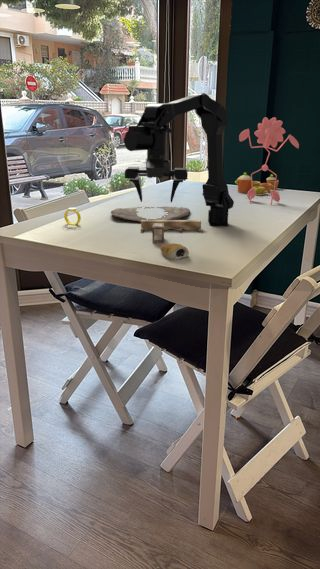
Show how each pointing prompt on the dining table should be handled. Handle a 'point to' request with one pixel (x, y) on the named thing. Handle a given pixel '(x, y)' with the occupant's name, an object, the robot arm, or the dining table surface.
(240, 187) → the toy tea set
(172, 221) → the rail
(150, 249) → the dining table surface
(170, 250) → the pastry
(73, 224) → the gold ring
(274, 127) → the figurine
